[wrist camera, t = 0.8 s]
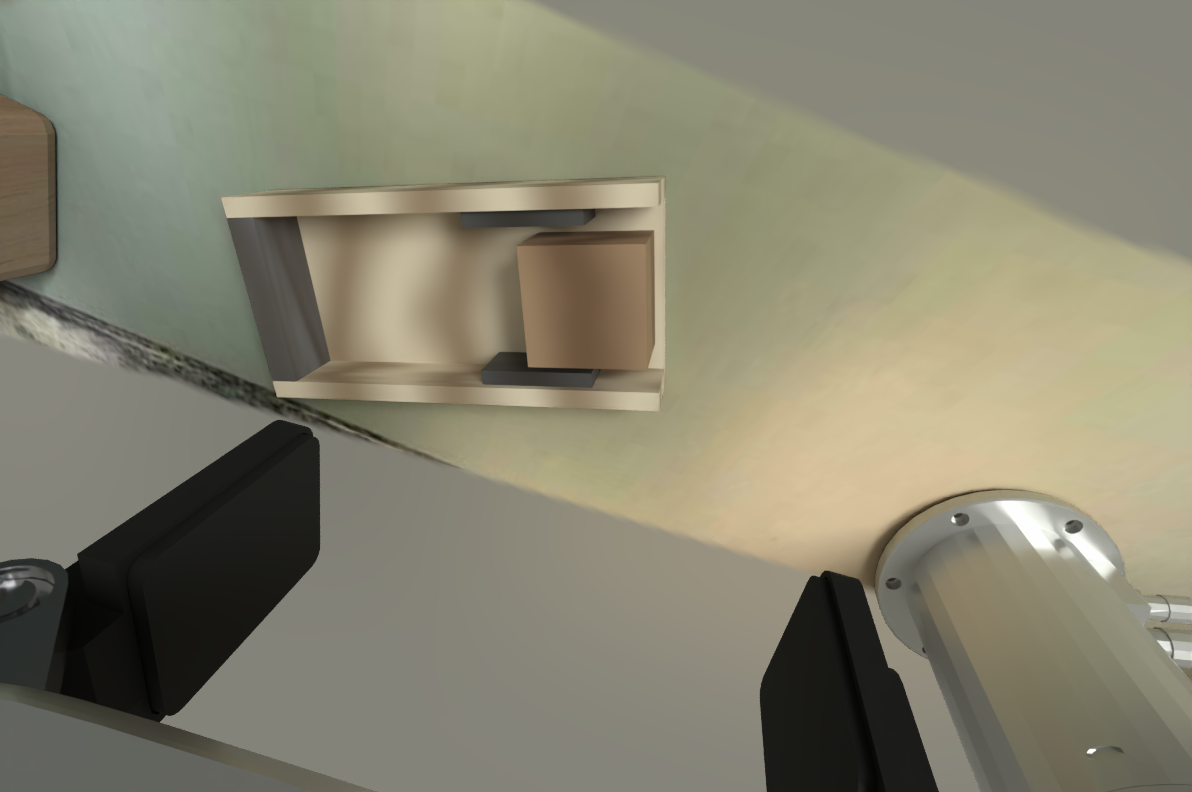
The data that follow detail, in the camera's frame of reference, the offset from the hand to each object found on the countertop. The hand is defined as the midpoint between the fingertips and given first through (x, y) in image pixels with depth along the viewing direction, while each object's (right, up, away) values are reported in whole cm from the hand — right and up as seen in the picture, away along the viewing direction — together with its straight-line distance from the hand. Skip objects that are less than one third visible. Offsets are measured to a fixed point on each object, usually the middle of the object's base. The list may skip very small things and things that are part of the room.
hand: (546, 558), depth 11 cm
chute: (-6, +9, +23) cm, 26 cm away
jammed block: (+1, +9, +22) cm, 24 cm away
